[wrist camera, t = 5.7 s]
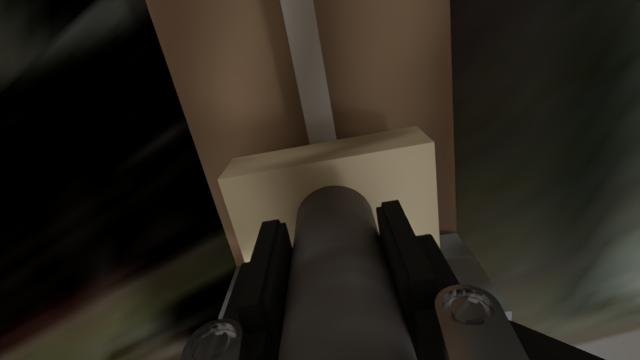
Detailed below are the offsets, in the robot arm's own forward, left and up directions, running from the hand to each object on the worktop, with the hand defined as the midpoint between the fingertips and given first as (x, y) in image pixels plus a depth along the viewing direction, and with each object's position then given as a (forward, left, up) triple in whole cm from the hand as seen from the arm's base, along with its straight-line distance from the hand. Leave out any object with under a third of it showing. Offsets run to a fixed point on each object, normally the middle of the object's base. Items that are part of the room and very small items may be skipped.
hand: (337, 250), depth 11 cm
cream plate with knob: (0, 0, -4) cm, 4 cm away
